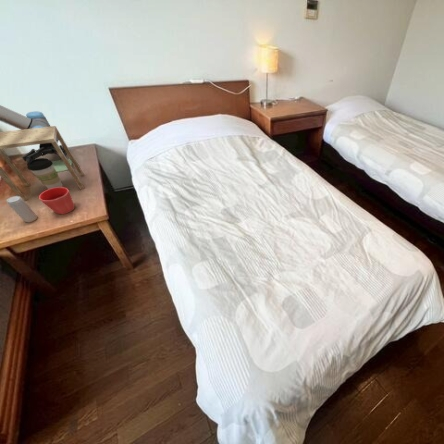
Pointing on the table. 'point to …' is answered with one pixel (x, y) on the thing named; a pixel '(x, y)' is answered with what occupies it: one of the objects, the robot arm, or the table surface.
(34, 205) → the table surface
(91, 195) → the table surface
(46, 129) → the wooden frame stand
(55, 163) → the felt mat
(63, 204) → the flower pot
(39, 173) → the coffee cup
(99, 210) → the table surface
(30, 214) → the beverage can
